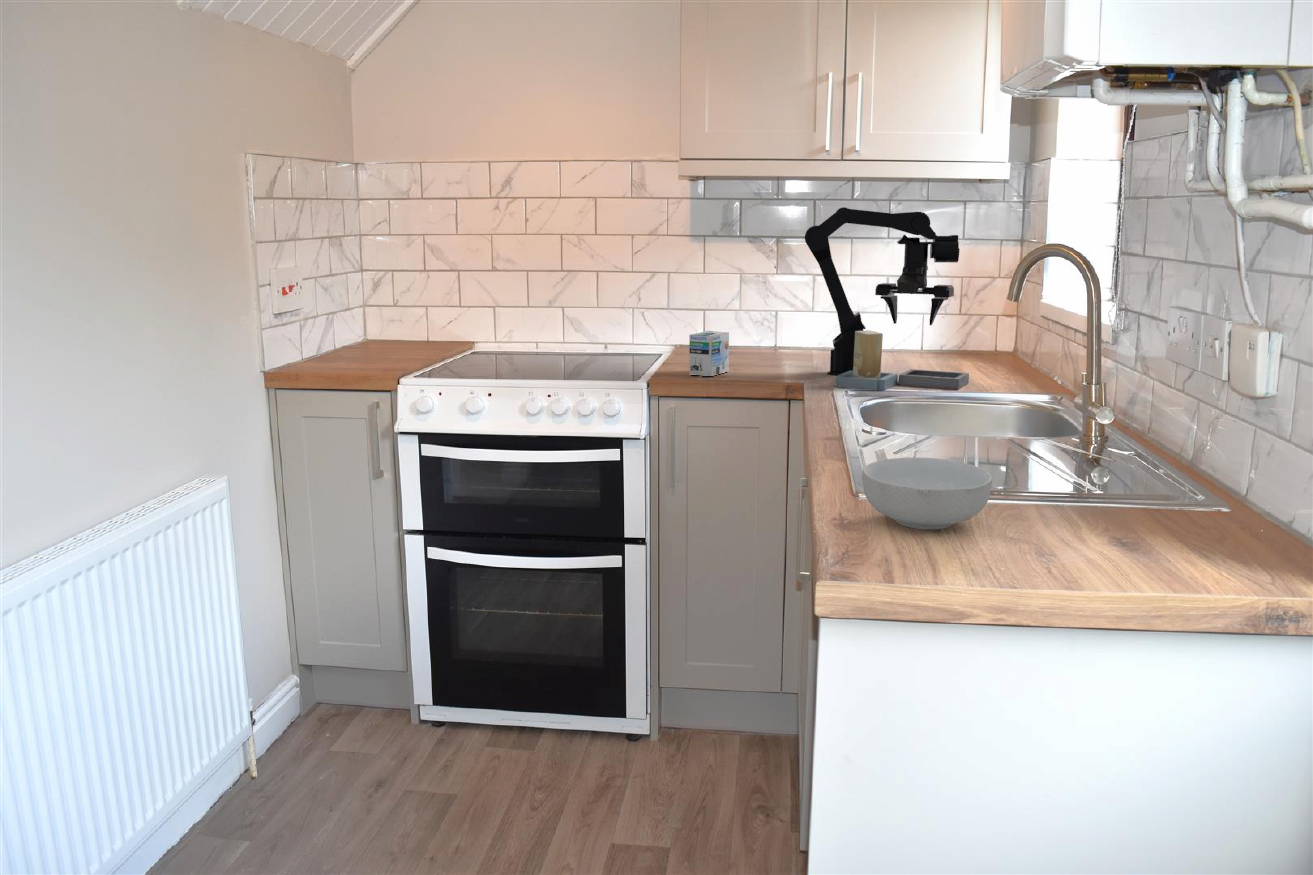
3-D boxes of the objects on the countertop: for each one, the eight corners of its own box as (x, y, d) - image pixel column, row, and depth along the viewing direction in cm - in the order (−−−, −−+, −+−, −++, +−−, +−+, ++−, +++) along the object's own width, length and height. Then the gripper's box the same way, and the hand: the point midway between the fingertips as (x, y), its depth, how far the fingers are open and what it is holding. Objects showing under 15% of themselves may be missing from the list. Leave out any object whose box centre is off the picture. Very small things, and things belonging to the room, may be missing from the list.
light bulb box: (711, 378, 265) (711, 335, 263) (688, 376, 268) (688, 334, 266) (729, 372, 274) (730, 331, 272) (706, 370, 277) (706, 330, 275)
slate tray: (833, 387, 250) (834, 376, 249) (850, 379, 260) (850, 370, 260) (883, 391, 244) (883, 380, 244) (898, 383, 255) (898, 373, 254)
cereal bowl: (841, 526, 140) (842, 475, 138) (887, 498, 153) (889, 452, 152) (966, 548, 130) (969, 494, 129) (1004, 516, 144) (1007, 466, 142)
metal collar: (898, 385, 252) (898, 374, 252) (910, 379, 261) (910, 369, 261) (958, 389, 245) (959, 379, 245) (968, 383, 254) (969, 373, 254)
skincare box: (851, 380, 254) (853, 330, 252) (867, 379, 256) (869, 329, 253) (865, 384, 248) (867, 333, 246) (881, 383, 250) (883, 332, 247)
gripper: (869, 263, 259) (867, 325, 263) (945, 264, 250) (941, 329, 254) (883, 261, 269) (880, 321, 272) (956, 262, 260) (952, 325, 263)
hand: (912, 324), depth 265 cm, fingers open, 9 cm apart
